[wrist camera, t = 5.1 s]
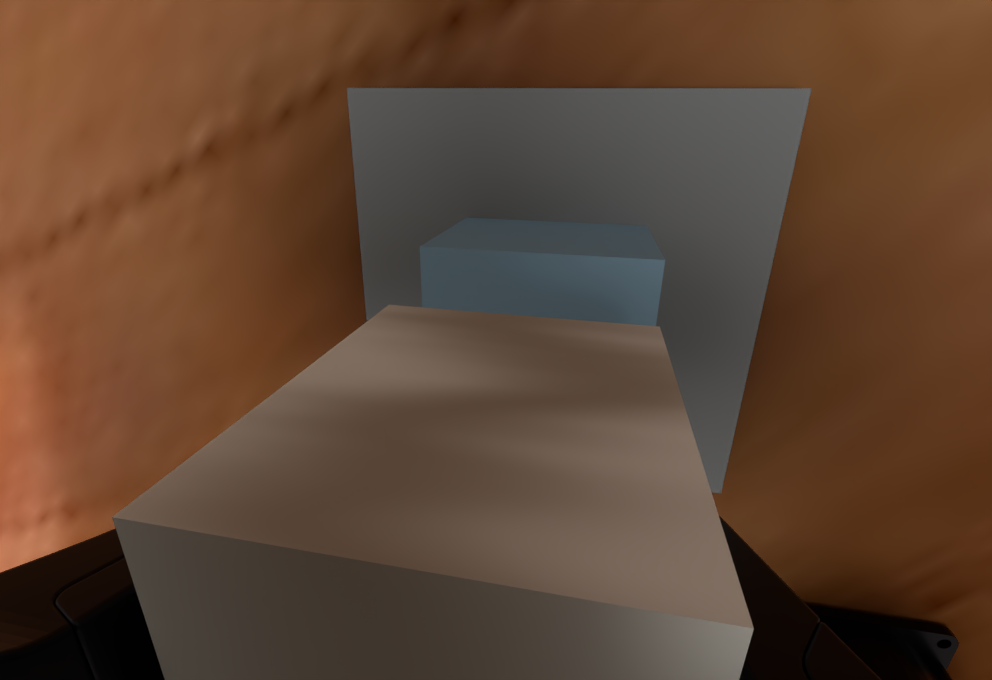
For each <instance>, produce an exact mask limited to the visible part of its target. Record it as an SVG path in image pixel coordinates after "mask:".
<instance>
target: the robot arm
mask: <svg viewBox="0 0 992 680" xmlns="http://www.w3.org/2000/svg"><path fill="white" fill-rule="evenodd" d="M719 518H720V521H721V525H722V528H723V531H724V534H725V537H726V541H727V544H728V547H729V550H730V554H731V557H732V560H733V563H734V566H735V570H736V573H737V576H738V579H739V582H740V586H741V589H742V592H743V595H744V599H745V602H746V605H747V608H748V611H749V615H750V618H751V621H752V624H753V627H754V630H753V634H752V637H751V640H750V644H749V647H748V651H747V654H746V658H745V661H744V665H743V668H742V672H741V675H740V679H739V680H952V679H951V677H950V676H949V674H948V673H947V671H946V669H947V667H948V665H949V663H950V661H951V659H952V657H953V655H954V653H955V651H956V649H957V647H958V644H959V642H958V640H957V639H956V637H955V636H954V634H953V633H952V632H951V630H949V629H948V628H945V627H942V626H935V625H929V624H923V623H916V622H910V621H904V620H897V619H891V618H884V617H878V616H872V615H865V614H859V613H852V612H846V611H840V610H833V609H827V608H821V607H814V606H808V605H806V604H805V603H804V602H803V601H802V600H801V599H800V598H799V597H798V596H797V595H796V594H795V593H794V591H793V590H792V589H791V588H790V587H789V586H788V585H787V584H786V583H785V582H784V581H783V580H782V579H781V578H780V577H779V576H778V575H777V574H776V573H775V572H774V571H773V570H772V569H771V568H770V567H769V566H768V565H767V564H766V563H765V562H764V561H763V560H762V559H761V558H760V557H759V556H758V555H757V554H756V553H755V552H754V551H753V550H752V549H751V548H750V547H749V546H748V544H747V543H746V542H745V541H744V540H743V539H742V538H741V537H740V536H739V535H738V534H737V533H736V532H735V531H734V530H733V529H732V528H731V527H730V526H729V525H728V524H727V523H726V522H725V521H724V520H723V519H722V518H721V517H720V516H719ZM0 680H165V679H164V676H163V673H162V670H161V667H160V664H159V660H158V657H157V654H156V651H155V648H154V645H153V642H152V639H151V636H150V633H149V630H148V626H147V623H146V620H145V617H144V614H143V611H142V608H141V605H140V602H139V599H138V596H137V592H136V589H135V586H134V583H133V580H132V577H131V574H130V571H129V568H128V565H127V562H126V558H125V555H124V552H123V549H122V546H121V543H120V540H119V537H118V534H117V531H116V528H115V529H113V530H111V531H108V532H106V533H103V534H101V535H98V536H96V537H94V538H91V539H88V540H86V541H83V542H80V543H78V544H75V545H73V546H70V547H67V548H65V549H62V550H60V551H57V552H54V553H52V554H49V555H47V556H44V557H41V558H38V559H36V560H33V561H30V562H28V563H25V564H22V565H20V566H17V567H14V568H12V569H9V570H6V571H4V572H1V573H0Z"/></svg>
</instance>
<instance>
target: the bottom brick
mask: <svg viewBox="0 0 992 680" xmlns="http://www.w3.org/2000/svg"><path fill="white" fill-rule="evenodd" d="M420 265H421V290H422V307H424V308H436V309H448V310H461V311H473V312H485V313H498V314H510V315H522V316H535V317H547V318H559V319H572V320H584V321H596V322H608V323H621V324H633V325H645V326H656V321H657V314H658V307H659V300H660V293H661V286H662V279H663V272H664V265H665V259H664V257H663V255H662V253H661V251H660V249H659V248H658V246H657V244H656V242H655V240H654V238H653V236H652V235H651V233H650V231H649V229H648V227H647V226H641V225H619V224H596V223H574V222H552V221H529V220H507V219H485V218H465V219H464V220H462V221H460V222H459V223H457V224H455V225H454V226H452V227H451V228H449V229H447V230H446V231H444V232H442V233H441V234H439V235H438V236H436V237H434V238H433V239H431V240H429V241H428V242H426V243H425V244H423V245H421V246H420Z"/></svg>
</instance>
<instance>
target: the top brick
mask: <svg viewBox="0 0 992 680" xmlns="http://www.w3.org/2000/svg"><path fill="white" fill-rule="evenodd" d="M112 518H113V521H114V524H115V528H116V531H117V534H118V537H119V540H120V543H121V546H122V549H123V552H124V555H125V558H126V562H127V565H128V568H129V571H130V574H131V577H132V580H133V583H134V586H135V589H136V592H137V596H138V599H139V602H140V605H141V608H142V611H143V614H144V617H145V620H146V623H147V626H148V630H149V633H150V636H151V639H152V642H153V645H154V648H155V651H156V654H157V657H158V660H159V664H160V667H161V670H162V673H163V676H164V679H165V680H739V679H740V675H741V672H742V668H743V665H744V661H745V658H746V654H747V651H748V647H749V644H750V640H751V637H752V634H753V630H754V627H753V624H752V621H751V618H750V615H749V611H748V608H747V605H746V602H745V599H744V595H743V592H742V589H741V586H740V582H739V579H738V576H737V573H736V570H735V566H734V563H733V560H732V557H731V554H730V550H729V547H728V544H727V541H726V537H725V534H724V531H723V528H722V525H721V521H720V518H719V515H718V512H717V509H716V505H715V502H714V499H713V496H712V492H711V489H710V486H709V483H708V480H707V476H706V473H705V470H704V467H703V464H702V460H701V457H700V454H699V451H698V448H697V444H696V441H695V438H694V435H693V431H692V428H691V425H690V422H689V419H688V415H687V412H686V409H685V406H684V403H683V399H682V396H681V393H680V390H679V386H678V383H677V380H676V377H675V374H674V370H673V367H672V364H671V361H670V358H669V354H668V351H667V348H666V345H665V342H664V338H663V335H662V332H661V329H660V327H658V326H645V325H633V324H621V323H608V322H596V321H584V320H572V319H559V318H547V317H535V316H522V315H510V314H498V313H485V312H473V311H461V310H448V309H436V308H424V307H411V306H399V305H388V306H387V307H385V308H384V309H383V310H381V311H380V312H379V313H377V314H376V315H375V316H374V317H372V318H371V319H370V320H368V321H367V322H366V323H364V324H363V325H362V326H361V327H359V328H358V329H357V330H355V331H354V332H353V333H351V334H350V335H349V336H348V337H346V338H345V339H344V340H342V341H341V342H340V343H338V344H337V345H336V346H334V347H333V348H332V349H331V350H329V351H328V352H327V353H325V354H324V355H323V356H321V357H320V358H319V359H318V360H316V361H315V362H314V363H312V364H311V365H310V366H308V367H307V368H306V369H305V370H303V371H302V372H301V373H299V374H298V375H297V376H295V377H294V378H293V379H291V380H290V381H289V382H288V383H286V384H285V385H284V386H282V387H281V388H280V389H278V390H277V391H276V392H275V393H273V394H272V395H271V396H269V397H268V398H267V399H265V400H264V401H263V402H262V403H260V404H259V405H258V406H256V407H255V408H254V409H252V410H251V411H250V412H248V413H247V414H246V415H245V416H243V417H242V418H241V419H239V420H238V421H237V422H235V423H234V424H233V425H232V426H230V427H229V428H228V429H226V430H225V431H224V432H222V433H221V434H220V435H219V436H217V437H216V438H215V439H213V440H212V441H211V442H209V443H208V444H207V445H205V446H204V447H203V448H202V449H200V450H199V451H198V452H196V453H195V454H194V455H192V456H191V457H190V458H189V459H187V460H186V461H185V462H183V463H182V464H181V465H179V466H178V467H177V468H176V469H174V470H173V471H172V472H170V473H169V474H168V475H166V476H165V477H164V478H162V479H161V480H160V481H159V482H157V483H156V484H155V485H153V486H152V487H151V488H149V489H148V490H147V491H146V492H144V493H143V494H142V495H140V496H139V497H138V498H136V499H135V500H134V501H133V502H131V503H130V504H129V505H127V506H126V507H125V508H123V509H122V510H121V511H120V512H118V513H117V514H116V515H114V516H113V517H112Z"/></svg>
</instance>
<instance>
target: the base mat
mask: <svg viewBox="0 0 992 680" xmlns="http://www.w3.org/2000/svg"><path fill="white" fill-rule="evenodd" d="M810 93H811V89H796V88H347V97H348V109H349V120H350V132H351V144H352V156H353V167H354V179H355V191H356V203H357V214H358V226H359V238H360V249H361V261H362V273H363V285H364V296H365V308H366V320H367V321H368V320H370V319H371V318H372V317H374V316H375V315H376V314H377V313H379V312H380V311H381V310H383V309H384V308H385V307H387V306H388V305H399V306H411V307H422V290H421V265H420V246H421V245H423V244H425V243H426V242H428V241H429V240H431V239H433V238H434V237H436V236H438V235H439V234H441V233H442V232H444V231H446V230H447V229H449V228H451V227H452V226H454V225H455V224H457V223H459V222H460V221H462V220H464V219H465V218H485V219H507V220H529V221H552V222H574V223H596V224H619V225H641V226H647V227H648V229H649V231H650V233H651V235H652V236H653V238H654V240H655V242H656V244H657V246H658V248H659V249H660V251H661V253H662V255H663V257H664V259H665V265H664V272H663V279H662V286H661V293H660V300H659V307H658V314H657V321H656V326H658V327H660V329H661V332H662V335H663V338H664V342H665V345H666V348H667V351H668V354H669V358H670V361H671V364H672V367H673V370H674V374H675V377H676V380H677V383H678V386H679V390H680V393H681V396H682V399H683V403H684V406H685V409H686V412H687V415H688V419H689V422H690V425H691V428H692V431H693V435H694V438H695V441H696V444H697V448H698V451H699V454H700V457H701V460H702V464H703V467H704V470H705V473H706V476H707V480H708V483H709V486H710V489H711V492H715V493H721V491H722V487H723V482H724V478H725V473H726V469H727V464H728V460H729V455H730V451H731V446H732V442H733V437H734V433H735V429H736V424H737V420H738V415H739V411H740V406H741V402H742V397H743V393H744V388H745V384H746V379H747V375H748V370H749V366H750V361H751V357H752V353H753V348H754V344H755V339H756V335H757V330H758V326H759V321H760V317H761V312H762V308H763V303H764V299H765V294H766V290H767V285H768V281H769V277H770V272H771V268H772V263H773V259H774V254H775V250H776V245H777V241H778V236H779V232H780V227H781V223H782V218H783V214H784V209H785V205H786V201H787V196H788V192H789V187H790V183H791V178H792V174H793V169H794V165H795V160H796V156H797V151H798V147H799V142H800V138H801V133H802V129H803V125H804V120H805V116H806V111H807V107H808V102H809V98H810Z"/></svg>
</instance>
